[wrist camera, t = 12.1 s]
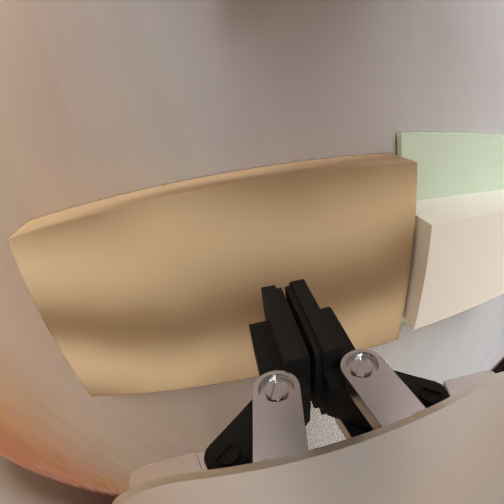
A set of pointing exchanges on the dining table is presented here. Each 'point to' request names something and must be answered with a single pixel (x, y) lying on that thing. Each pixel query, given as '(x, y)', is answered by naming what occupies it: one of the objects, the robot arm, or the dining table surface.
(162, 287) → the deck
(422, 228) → the cream rectangular block
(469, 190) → the mat
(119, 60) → the dining table surface
